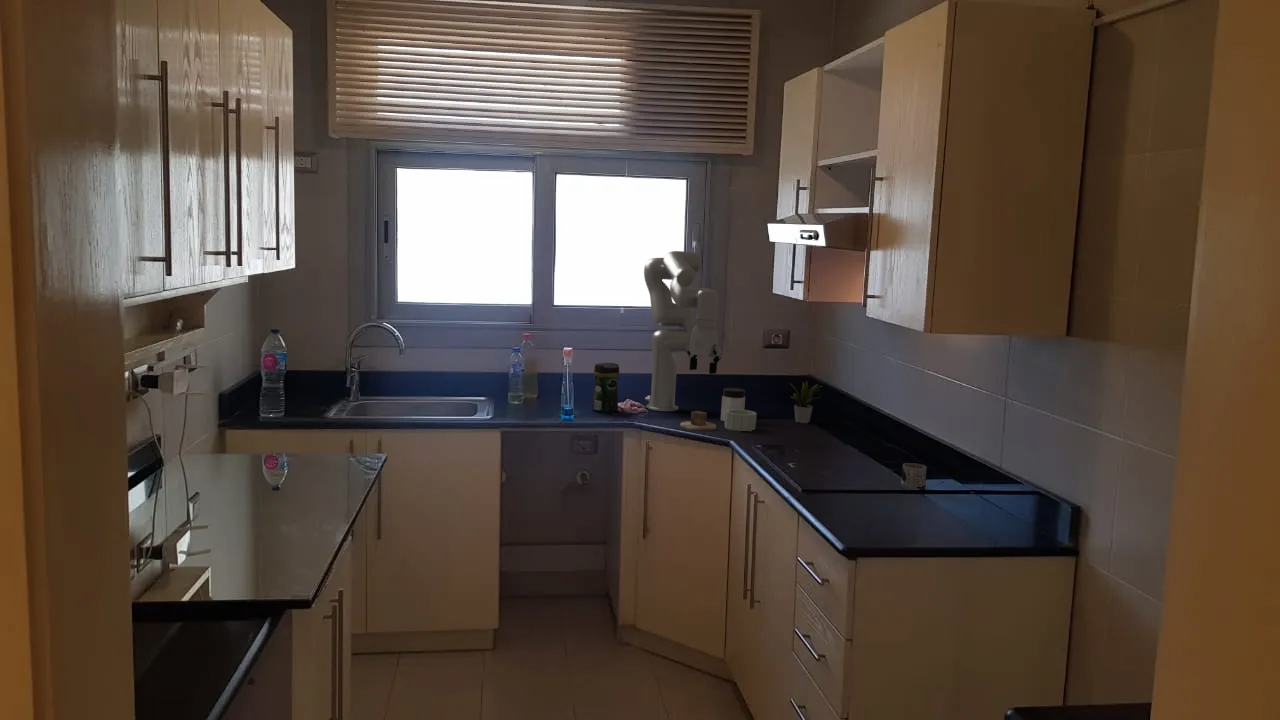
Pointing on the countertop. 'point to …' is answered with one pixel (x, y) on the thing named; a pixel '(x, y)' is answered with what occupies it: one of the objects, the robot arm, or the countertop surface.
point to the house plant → (803, 403)
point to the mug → (913, 475)
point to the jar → (732, 400)
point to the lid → (698, 422)
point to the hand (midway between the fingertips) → (702, 371)
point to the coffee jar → (606, 387)
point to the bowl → (740, 420)
